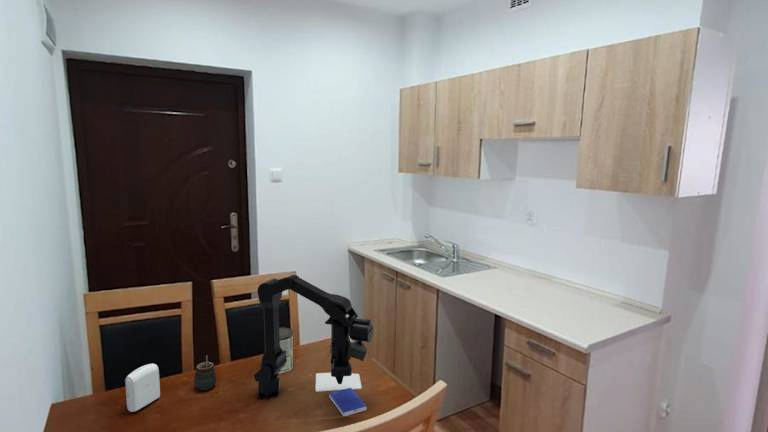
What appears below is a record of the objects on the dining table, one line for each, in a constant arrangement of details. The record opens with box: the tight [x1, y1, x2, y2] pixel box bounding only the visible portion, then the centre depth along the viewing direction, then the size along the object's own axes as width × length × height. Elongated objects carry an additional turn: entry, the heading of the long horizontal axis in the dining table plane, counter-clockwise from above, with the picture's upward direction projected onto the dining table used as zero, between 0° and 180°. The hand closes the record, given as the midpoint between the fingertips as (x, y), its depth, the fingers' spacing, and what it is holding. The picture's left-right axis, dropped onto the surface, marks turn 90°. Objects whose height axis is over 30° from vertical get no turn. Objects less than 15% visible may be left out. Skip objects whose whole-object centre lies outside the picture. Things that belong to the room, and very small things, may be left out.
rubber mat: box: [315, 372, 363, 393], centre depth 151 cm, size 16×12×1 cm
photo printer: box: [124, 363, 161, 413], centre depth 135 cm, size 10×4×12 cm, turn 158°
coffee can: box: [278, 327, 294, 374], centre depth 160 cm, size 10×10×14 cm
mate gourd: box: [193, 354, 217, 391], centre depth 146 cm, size 7×8×10 cm
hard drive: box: [328, 388, 368, 417], centre depth 137 cm, size 2×8×12 cm
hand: (339, 383), depth 135 cm, fingers closed
